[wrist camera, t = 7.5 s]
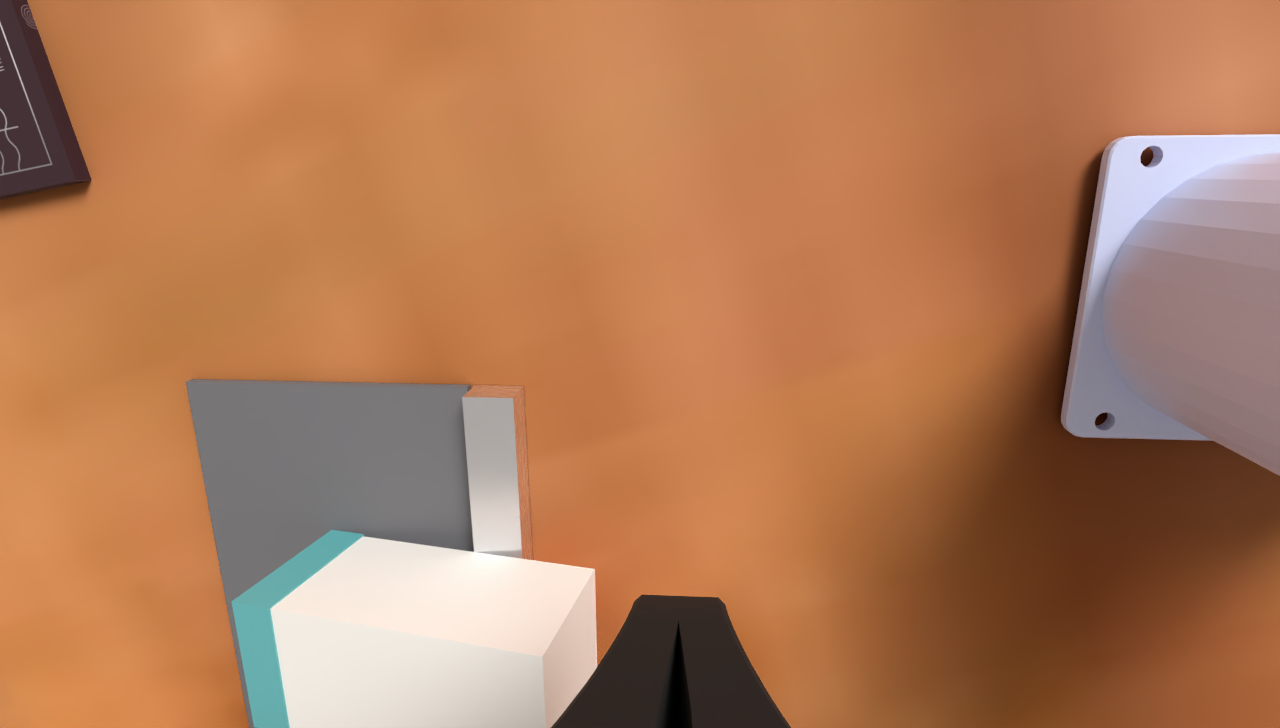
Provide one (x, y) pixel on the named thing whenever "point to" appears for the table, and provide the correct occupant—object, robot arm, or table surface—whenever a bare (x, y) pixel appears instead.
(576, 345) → the table surface
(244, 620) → the tall block
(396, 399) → the mat
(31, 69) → the chocolate bar
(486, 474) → the stop rail
